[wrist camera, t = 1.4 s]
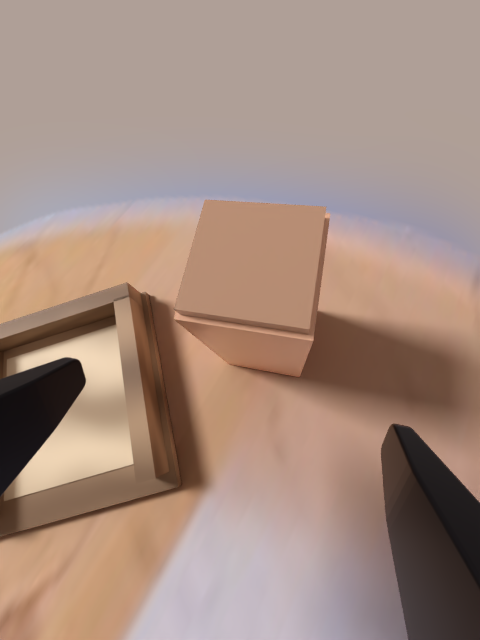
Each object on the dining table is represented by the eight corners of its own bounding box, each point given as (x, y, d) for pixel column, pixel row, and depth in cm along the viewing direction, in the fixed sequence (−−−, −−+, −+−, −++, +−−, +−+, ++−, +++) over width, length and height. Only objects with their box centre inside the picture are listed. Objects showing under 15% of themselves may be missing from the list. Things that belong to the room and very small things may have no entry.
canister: (299, 377, 19) (315, 336, 9) (228, 364, 20) (166, 313, 10) (309, 308, 20) (332, 202, 10) (242, 299, 21) (201, 195, 11)
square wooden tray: (181, 484, 18) (165, 496, 16) (-14, 539, 19) (-59, 558, 16) (148, 294, 23) (132, 280, 20) (-7, 345, 24) (-40, 337, 21)
